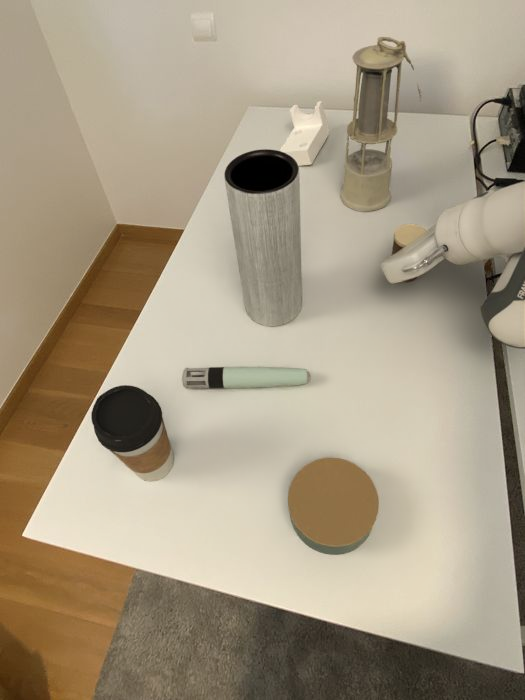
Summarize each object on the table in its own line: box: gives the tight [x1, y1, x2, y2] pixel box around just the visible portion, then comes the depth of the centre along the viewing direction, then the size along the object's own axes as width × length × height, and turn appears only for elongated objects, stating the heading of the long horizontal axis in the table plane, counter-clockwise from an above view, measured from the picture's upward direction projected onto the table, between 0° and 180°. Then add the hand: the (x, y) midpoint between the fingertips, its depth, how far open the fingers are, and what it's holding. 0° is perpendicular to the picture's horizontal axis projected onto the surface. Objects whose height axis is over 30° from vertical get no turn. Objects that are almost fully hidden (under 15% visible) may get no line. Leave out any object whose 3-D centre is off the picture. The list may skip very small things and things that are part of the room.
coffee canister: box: [391, 223, 428, 283], centre depth 87 cm, size 6×6×8 cm
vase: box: [223, 148, 303, 327], centre depth 77 cm, size 10×10×27 cm
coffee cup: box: [90, 384, 175, 482], centre depth 66 cm, size 8×8×15 cm
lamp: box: [340, 36, 422, 213], centre depth 91 cm, size 10×13×30 cm
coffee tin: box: [287, 457, 380, 556], centre depth 64 cm, size 11×11×4 cm
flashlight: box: [181, 366, 312, 389], centre depth 78 cm, size 3×4×20 cm
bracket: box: [279, 100, 330, 167], centre depth 112 cm, size 13×7×8 cm, turn 158°
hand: (405, 250), depth 87 cm, fingers closed on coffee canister, 5 cm apart
